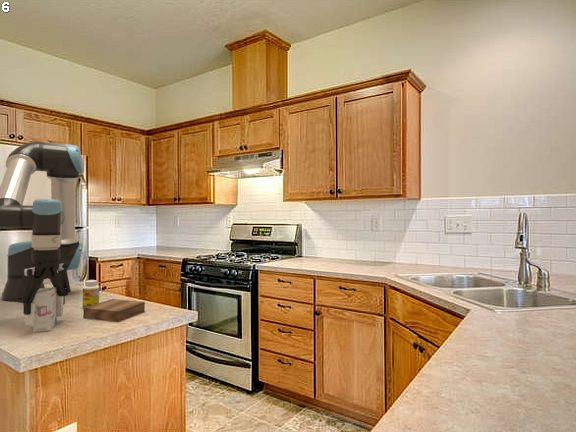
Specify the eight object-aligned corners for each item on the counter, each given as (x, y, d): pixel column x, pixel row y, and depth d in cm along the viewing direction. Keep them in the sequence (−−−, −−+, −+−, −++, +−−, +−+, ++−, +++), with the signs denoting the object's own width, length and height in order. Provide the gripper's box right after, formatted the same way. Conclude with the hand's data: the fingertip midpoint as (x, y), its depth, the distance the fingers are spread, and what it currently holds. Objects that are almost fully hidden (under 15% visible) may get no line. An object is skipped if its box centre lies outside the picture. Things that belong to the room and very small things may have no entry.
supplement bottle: (79, 308, 140) (79, 281, 140) (93, 305, 145) (93, 279, 145) (88, 310, 137) (88, 282, 137) (102, 307, 142) (102, 280, 142)
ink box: (39, 324, 120) (39, 287, 120) (57, 323, 122) (57, 286, 121) (31, 332, 112) (32, 292, 112) (50, 330, 114) (51, 292, 113)
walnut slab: (83, 319, 128) (83, 307, 128) (112, 309, 141) (112, 299, 141) (118, 323, 124) (118, 311, 124) (144, 312, 138) (144, 302, 138)
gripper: (22, 252, 105) (20, 332, 105) (84, 246, 126) (82, 312, 126) (1, 251, 107) (0, 329, 107) (66, 245, 128) (64, 310, 128)
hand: (44, 320), depth 117 cm, fingers closed on ink box, 9 cm apart
